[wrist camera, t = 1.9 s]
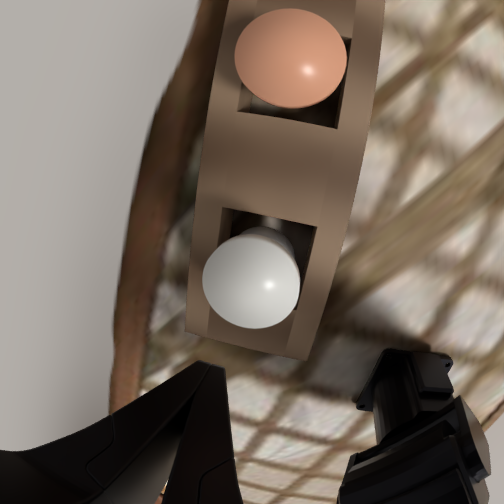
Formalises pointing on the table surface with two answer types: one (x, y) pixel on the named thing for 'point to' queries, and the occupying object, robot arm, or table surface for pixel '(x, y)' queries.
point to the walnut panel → (283, 171)
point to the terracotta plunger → (290, 58)
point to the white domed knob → (253, 278)
